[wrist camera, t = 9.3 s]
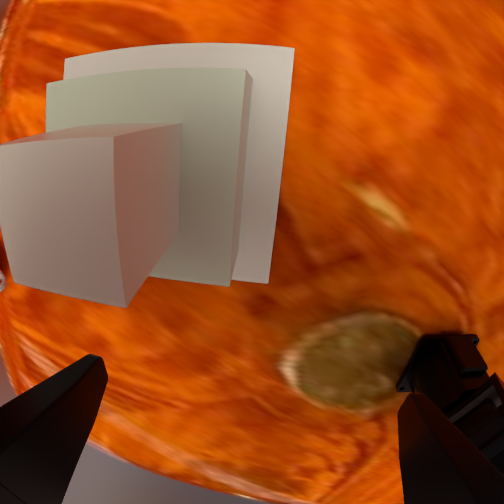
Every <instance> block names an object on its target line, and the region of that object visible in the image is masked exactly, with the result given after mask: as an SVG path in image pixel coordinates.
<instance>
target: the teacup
mask: <svg viewBox="0 0 504 504" xmlns="http://www.w3.org/2000/svg"><path fill="white" fill-rule="evenodd" d="M0 279H1V280H2V282H1V283H0V292H1V291H3V290H4V289H5V287H6V285H7V282H6V278H5V276H4V274H3V273H2V271H1V270H0Z"/></svg>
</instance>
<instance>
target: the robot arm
mask: <svg viewBox="0 0 504 504" xmlns="http://www.w3.org/2000/svg"><path fill="white" fill-rule="evenodd" d="M426 341H427V342H426ZM478 343H479V338H478V336H477V335H427V336H424V337H422V338H421V340H420V342H419V344H418V346H417V348H416V350H415V352H414V354H413V356H412V358H411V360H410V362H409V363H408V365H407V367H406V369H405V371H404V373H403V375H402V377H401V378H400V380H399V382H398V384H397V385H396V389H397V391H398V392H412V393H410V394H409V395H408V396H407V398H406V399H405V401H404V403H403V404H402V406H401V407H400V409H399V411H398V436H399V460H400V469H401V477H402V485H403V495H404V504H504V383H503V381H502V380H501V379H500V378H499V377H498V375H497V374H496V373H494V374H493V375H492V376H490V377H489V375H488V374H487V372H486V371H487V369H488V367H487V365H486V363H485V361H484V360H483V358H482V356H481V355H480V353H479V351H478V350H477V348H476V346H477V344H478ZM107 382H108V374H107V371H106V368H105V364H104V361H103V359H102V357H100V356H97V355H93V354H88V355H86V356H84V357H83V358H81V359H79V360H78V361H76V362H74V363H73V364H71V365H69V366H68V367H66V368H64V369H63V370H61V371H59V372H58V373H56V374H54V375H53V376H51V377H49V378H48V379H46V380H44V381H43V382H41V383H39V384H38V385H36V386H34V387H32V388H31V389H29V390H27V391H26V392H24V393H22V394H21V395H19V396H17V397H16V398H14V399H12V400H11V401H9V402H7V403H6V404H4V405H2V407H0V504H61V503H62V501H63V498H64V496H65V493H66V491H67V488H68V485H69V483H70V480H71V478H72V475H73V473H74V470H75V468H76V465H77V463H78V460H79V458H80V455H81V453H82V451H83V448H84V446H85V444H86V441H87V439H88V437H89V434H90V432H91V430H92V427H93V425H94V422H95V419H96V416H97V413H98V410H99V407H100V404H101V400H102V397H103V394H104V391H105V388H106V385H107Z"/></svg>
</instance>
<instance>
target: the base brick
mask: <svg viewBox="0 0 504 504" xmlns="http://www.w3.org/2000/svg"><path fill="white" fill-rule="evenodd" d="M252 84H253V78H252V77H251V75H250V74H249V73H248V71H247V70H246V69H236V68H161V69H144V70H132V71H122V72H113V73H105V74H97V75H90V76H84V77H78V78H72V79H66V80H61V81H56V82H51V83H47V92H46V132H51V131H56V130H61V129H66V128H71V127H76V126H82V125H94V124H115V123H182V135H181V156H180V189H179V234H178V235H177V236H176V238H175V239H174V241H173V242H172V243H171V245H170V246H169V247H168V249H167V250H166V252H165V253H164V254H163V256H162V257H161V259H160V260H159V261H158V263H157V264H156V266H155V267H154V268H153V270H152V271H151V273H150V274H149V276H150V277H157V278H164V279H172V280H179V281H187V282H194V283H202V284H210V285H218V286H227V287H230V283H231V279H232V275H233V271H234V267H235V263H236V259H237V255H238V251H239V238H240V225H241V212H242V200H243V188H244V175H245V163H246V152H247V140H248V129H249V117H250V106H251V95H252Z"/></svg>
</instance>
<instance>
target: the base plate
mask: <svg viewBox="0 0 504 504" xmlns="http://www.w3.org/2000/svg"><path fill="white" fill-rule="evenodd" d="M294 50H295V48H289V47H280V46H269V45H256V44H237V43H183V44H164V45H151V46H141V47H131V48H123V49H116V50H109V51H103V52H97V53H91V54H86V55H81V56H76V57H71V58H67V59H65V65H64V78H63V80H66V79H72V78H78V77H84V76H90V75H97V74H105V73H113V72H122V71H132V70H144V69H161V68H236V69H246V70H247V71H248V73H249V74H250V75H251V77H252V78H253V84H252V95H251V106H250V117H249V129H248V140H247V152H246V163H245V175H244V188H243V200H242V212H241V225H240V238H239V251H238V255H237V259H236V263H235V267H234V271H233V275H232V279H231V280H238V281H247V282H256V283H265V284H268V281H269V273H270V266H271V258H272V250H273V242H274V234H275V226H276V217H277V209H278V201H279V192H280V184H281V175H282V166H283V157H284V148H285V139H286V130H287V120H288V111H289V101H290V91H291V81H292V71H293V60H294Z"/></svg>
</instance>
